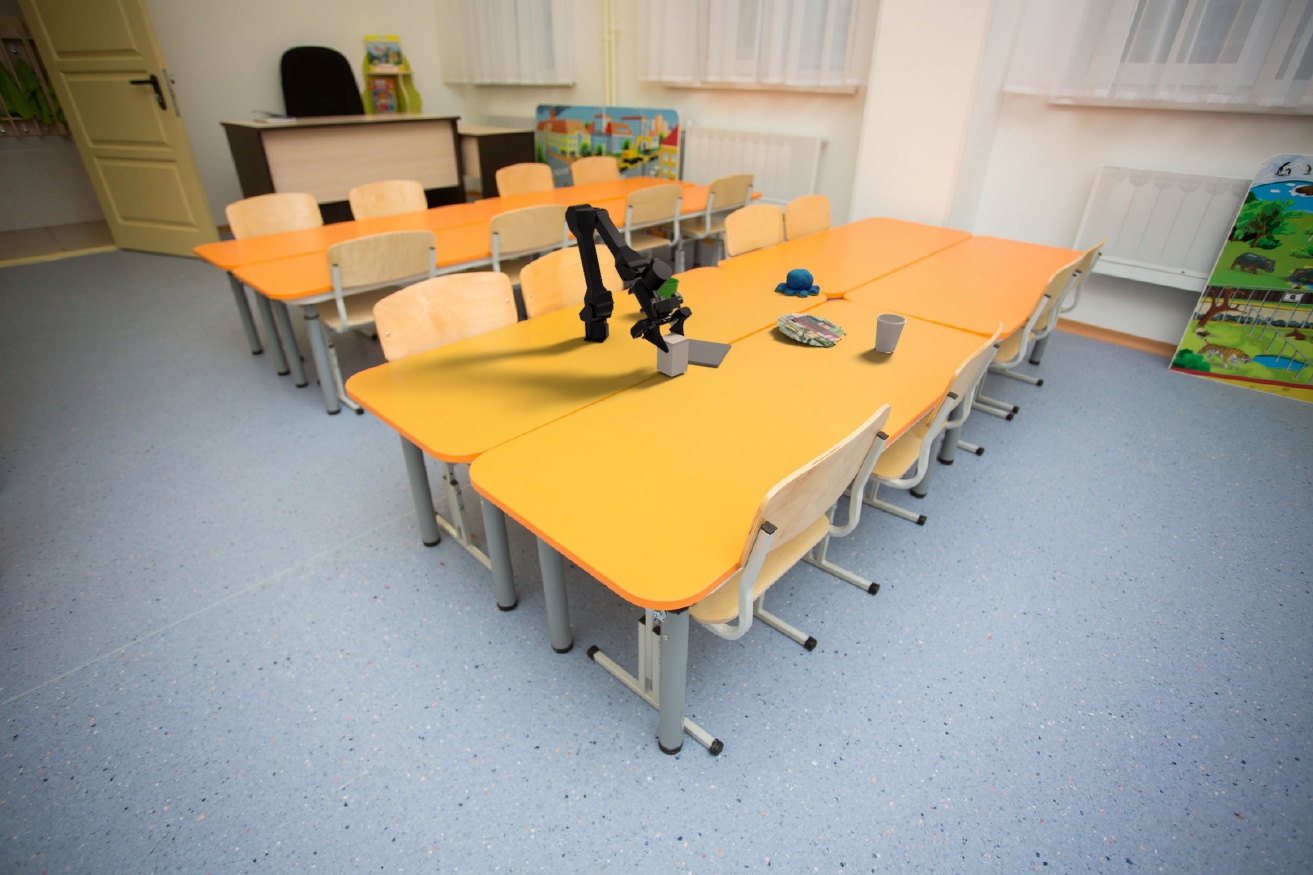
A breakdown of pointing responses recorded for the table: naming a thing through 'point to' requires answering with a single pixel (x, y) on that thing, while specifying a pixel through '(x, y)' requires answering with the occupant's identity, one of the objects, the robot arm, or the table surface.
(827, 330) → the city model
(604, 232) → the robot arm
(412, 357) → the table surface
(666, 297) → the cup
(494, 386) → the table surface
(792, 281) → the plush toy
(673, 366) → the white tall block
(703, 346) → the mat
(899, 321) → the dixie cup
